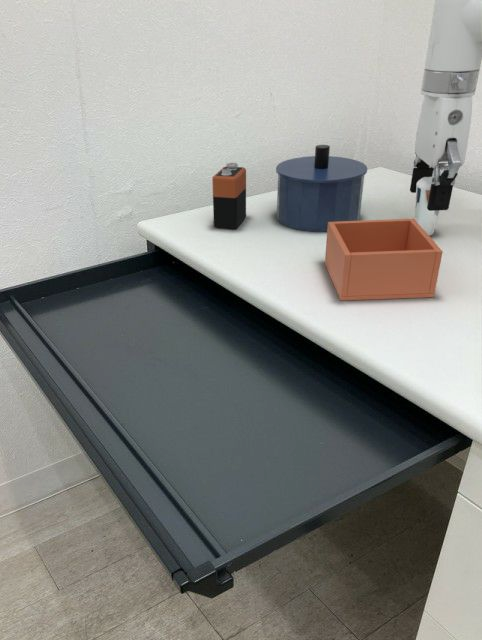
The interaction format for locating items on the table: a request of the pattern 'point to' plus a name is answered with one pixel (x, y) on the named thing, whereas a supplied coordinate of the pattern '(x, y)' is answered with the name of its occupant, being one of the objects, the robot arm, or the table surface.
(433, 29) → the robot arm
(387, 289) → the bin
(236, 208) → the battery
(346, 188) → the pot
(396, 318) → the table surface
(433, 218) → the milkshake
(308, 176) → the pot lid
